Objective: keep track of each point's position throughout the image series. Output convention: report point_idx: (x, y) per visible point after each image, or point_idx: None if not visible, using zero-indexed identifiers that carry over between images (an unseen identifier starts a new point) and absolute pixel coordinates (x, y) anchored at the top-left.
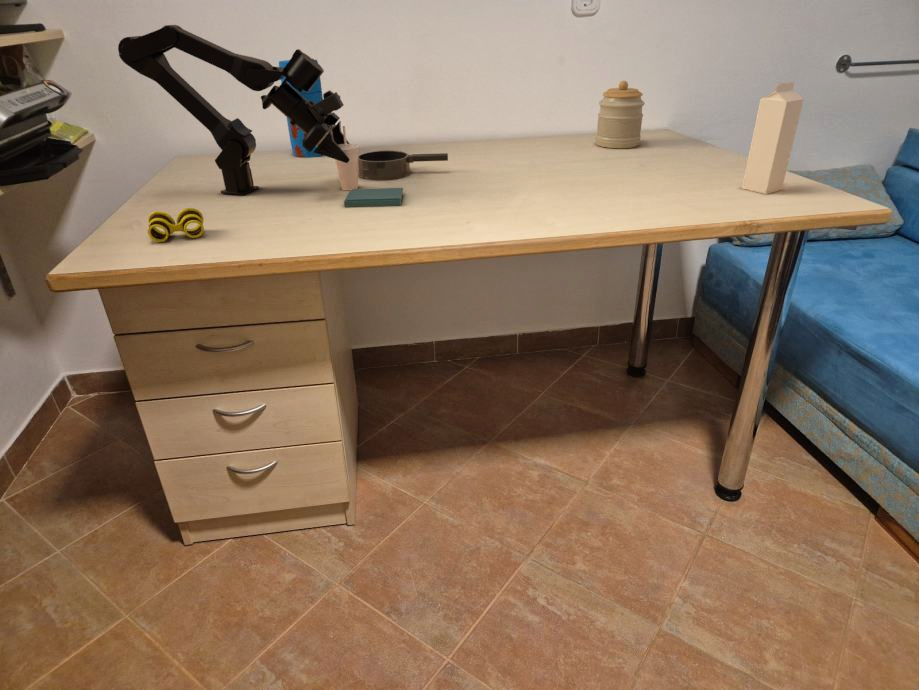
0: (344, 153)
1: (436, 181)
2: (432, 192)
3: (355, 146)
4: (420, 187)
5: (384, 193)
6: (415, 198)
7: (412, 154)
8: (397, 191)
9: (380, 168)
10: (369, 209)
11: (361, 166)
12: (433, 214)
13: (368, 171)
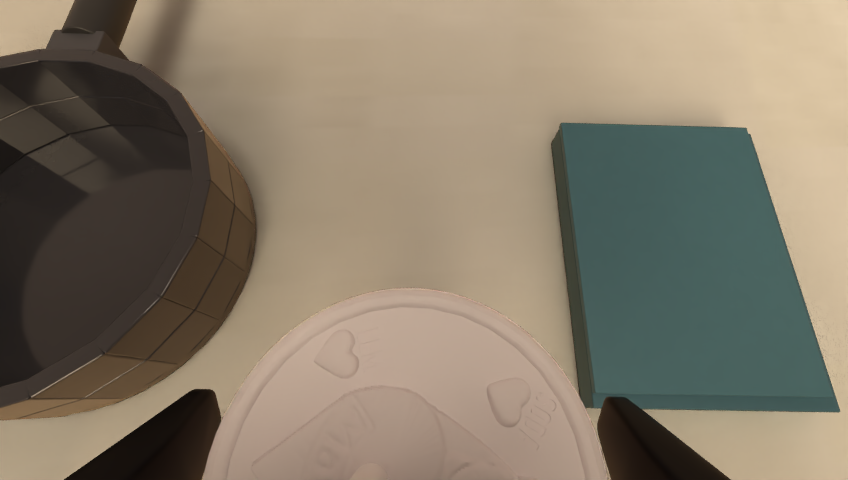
0: (683, 454)
1: (340, 23)
2: (520, 39)
3: (409, 332)
4: (434, 79)
5: (675, 199)
6: (613, 96)
7: (76, 26)
8: (630, 143)
9: (225, 230)
10: (815, 274)
11: (119, 370)
12: (819, 41)
13: (195, 319)
